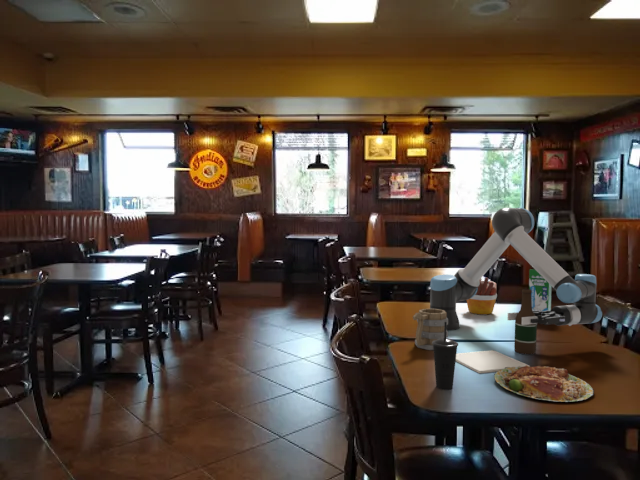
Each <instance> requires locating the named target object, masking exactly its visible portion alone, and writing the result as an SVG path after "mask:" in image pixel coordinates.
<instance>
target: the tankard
mask: <svg viewBox="0 0 640 480" xmlns="http://www.w3.org/2000/svg"><path fill="white" fill-rule="evenodd" d="M412 319H413V321H416V322H417V327H416V330H415V331H416V332H415V339H414V344H415V346H416V347H417V348H418V349H423V350H425V351H426V350H427V351H434V349H433V344H432V342H433V341H434V340H437V339H440V338H444V322H447V325H448V318H447V313H446V312H445V311H444V310H440V309H430V308H423V309H419V310H418V312H415V314H414V315H413V316H412ZM448 337H449V330H447V333H446V338H448Z"/></svg>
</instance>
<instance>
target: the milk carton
mask: <svg viewBox="0 0 640 480" xmlns="http://www.w3.org/2000/svg"><path fill="white" fill-rule="evenodd" d="M528 273H529V275H528V278H529V279H528V289H531V290H532V293H531V300H532V310H541V311H546V310H549V311H551V309H552V288H553V287H552V286H551V285H550V284H549V283H548V282H547V281H546V280H545V279H544V278H543V277H542V276H541V275H540V274H539V273H538V272H537V271H536V270H535V269H534V268H533V269H531V268H530V269H529V271H528Z"/></svg>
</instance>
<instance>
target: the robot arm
mask: <svg viewBox="0 0 640 480" xmlns="http://www.w3.org/2000/svg"><path fill="white" fill-rule="evenodd" d="M533 215H534V214H532V212H531V211H530V210H528V209H526V208H523V207H503V208H500V209H497V211H496V212H495V213H494V214H493V216H492V218H491V219H492V220H491V226H492V229H493V231H494V232H493V233H492V234H491V236H490V237H489V238H488V239H487V240H486V242H485V243H484V244H483V245H482V247H481V248H480V249H479V250H478V251H477V252H476V254H475V255H474V256H473V258H472V259H470V261H469V262H468V263H467V265H466V266H465V267H464V268H459V269H458V270H457V272H456V273H455V274H454V275H453V274H438V275H435V276H433V277H431V279H430V284H429V288H430V289H429V290H430V291H429V295H430V296H429V309H440V310H444V311H445V312H446V313H447V318H448V325H447V331H452V330H459V328H460V320H459V317H458V313H457V310H456V309H457V308H456V307H457V302H462V301H467V300H468V299H470V298H472V297H473V296H474V295H475V294H476V293H477V290H478V288H477V287H478V286H479V285H480V281H479V280H480V279H482V278H483V276H485V274H486V273H487V272H488V271H489V269H491V267H492V266H493V265H494V264H495V263H496V261H498V259H499V258H500V257H501V256H502V254H503V253H504V252H505V251H506V250H507V249H508V247H509V246H511V247H513V249H514V250H516V251H517V252H518V254H519V255H520V256H521V257H522V258H523V259H524V260H525V261H526V262H527V263H528V264H529V265H530V266H531V267H532V268H533V269H534V270H536V271H537V272H538V273H539V274H540V275H541V276H542V277H543V278H544V279H545V280H546V281H547V282H548V283H549V284H550V285H551V286H552V287H551V288H553V289H554V290H555V292H556V293H555V294H556V296H557V298H558V300H559V301H560V302H562V303H564V304H566V305H555V306H553V307H551V311H549V310H546V311H541V310H532V311H533V312H534V314H535V316H533V317H522V325H529V324H537V325H538V324H539V325H543V326H549V325H555V326H559V327H562V326H567V325H568V326H569V327H571V326H572V325H585V324H587V325H588V324H589V325H590V324H594V323H595V324H596V323H597V322H600V321H601V319H602V316H603V311H602V309H601V307H600V306H599V305H598V304H596V303H597V302H596V298H597V296H596V295H597V276H596V275H594V274H589V273H588V274H587V273H577V274H576V275H575V277H574V278H573V277H572V276H571V275H570V274H569V273H567V271H566V270H565V269H563V267H562V266H560V264H559V263H558V262H556V260H554V259H553V257H551V256H550V254H549V253H547V251H545V250H544V249H543V247H541V246H540V245H539V243H537V242H536V241H535V240H534V239H533V238H532V237H531V236H530V235H529V233H530V232H531V231H532V230H533V229H534V226H535V217H534V216H533ZM567 304H568V305H567ZM518 313H519V311H518V312H517V311H516V312H507V321H515V319H516V316H517V314H518Z"/></svg>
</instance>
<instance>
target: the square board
mask: <svg viewBox="0 0 640 480" xmlns="http://www.w3.org/2000/svg"><path fill="white" fill-rule="evenodd" d="M456 362H457V363H459V364H460V365H463V366H464V367H466V368H468V369H470V370H472V371H474V372H476V373H478V374H488V373H496V372H497V371H499V370H502V369H504V368H505V367H519V366H520V367H524V366H526V365H527V366H529V367H531V365H528V364H527V363H524V362H522V361H519V360H518V359H515V358H512V357H510V356H508V355H506V354H503V353H501V352H499V351H496V350H494V349H491V350H481V351H471V352H470V351H469V352H460V353H459V352H458V353H456ZM456 362H455V363H456Z"/></svg>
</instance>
